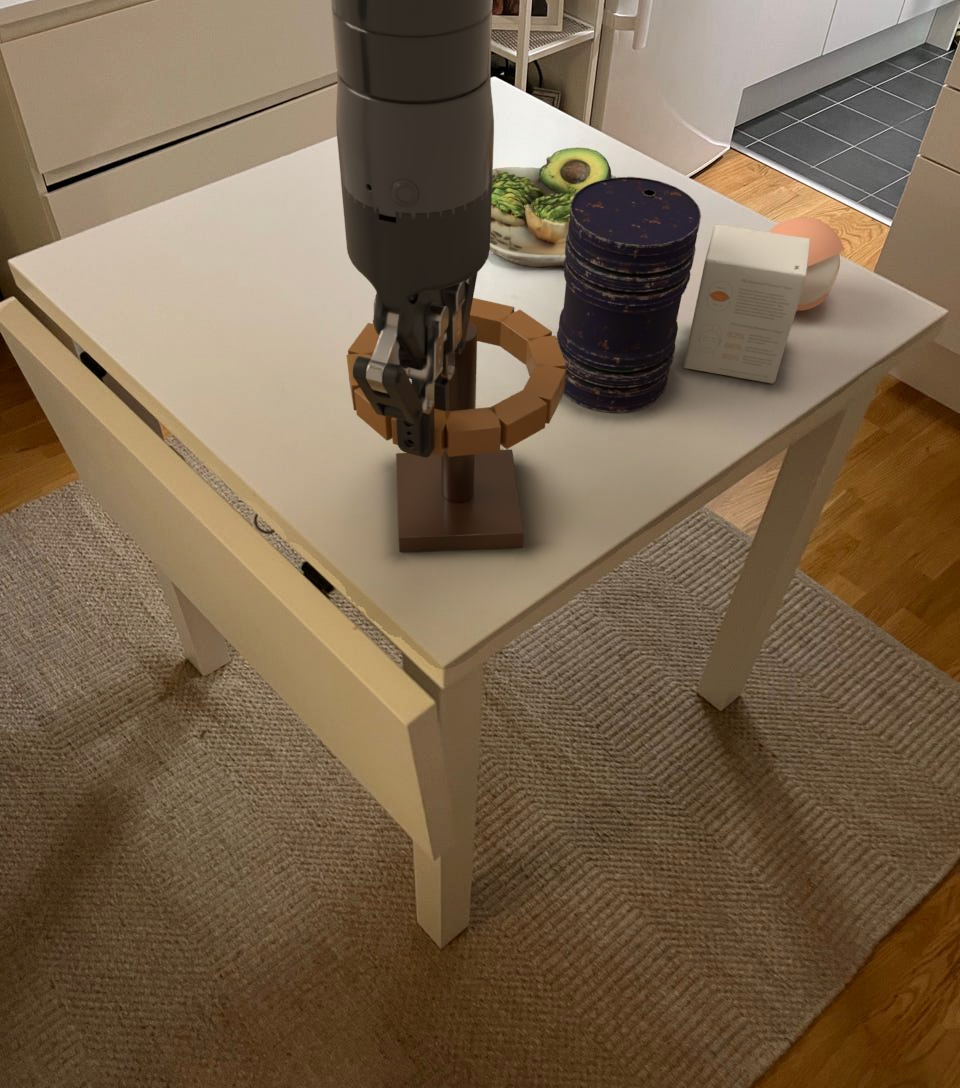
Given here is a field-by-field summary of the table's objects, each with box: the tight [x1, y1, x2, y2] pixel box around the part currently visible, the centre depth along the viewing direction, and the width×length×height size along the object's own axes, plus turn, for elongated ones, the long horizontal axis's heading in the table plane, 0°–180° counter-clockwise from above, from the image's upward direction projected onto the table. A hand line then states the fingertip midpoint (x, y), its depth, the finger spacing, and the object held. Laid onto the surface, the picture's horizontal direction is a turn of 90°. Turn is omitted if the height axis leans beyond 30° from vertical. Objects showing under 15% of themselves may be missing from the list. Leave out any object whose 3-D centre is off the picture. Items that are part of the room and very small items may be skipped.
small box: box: [683, 223, 810, 384], centre depth 83 cm, size 8×6×10 cm
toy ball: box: [768, 216, 845, 312], centre depth 89 cm, size 8×8×8 cm
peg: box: [395, 322, 525, 553], centre depth 69 cm, size 9×9×16 cm
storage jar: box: [556, 176, 702, 414], centre depth 79 cm, size 10×10×15 cm
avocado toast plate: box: [489, 147, 617, 268], centre depth 97 cm, size 19×18×5 cm
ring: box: [346, 297, 566, 457], centre depth 65 cm, size 14×14×2 cm
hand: (423, 438), depth 63 cm, fingers closed on ring, 2 cm apart
